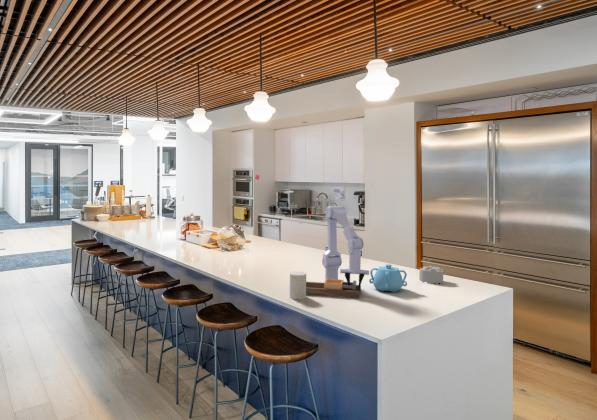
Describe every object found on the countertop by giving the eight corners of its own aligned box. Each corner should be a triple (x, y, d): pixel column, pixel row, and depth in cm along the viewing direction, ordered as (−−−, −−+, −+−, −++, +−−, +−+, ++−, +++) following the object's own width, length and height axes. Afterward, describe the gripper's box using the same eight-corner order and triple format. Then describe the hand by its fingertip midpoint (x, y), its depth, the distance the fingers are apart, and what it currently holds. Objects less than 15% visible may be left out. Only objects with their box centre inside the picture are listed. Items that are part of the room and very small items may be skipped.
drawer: (326, 287, 224) (326, 278, 224) (356, 290, 221) (356, 280, 221) (323, 292, 215) (324, 282, 215) (354, 294, 212) (355, 284, 212)
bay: (297, 287, 229) (297, 274, 229) (360, 291, 223) (361, 278, 222) (292, 293, 217) (292, 280, 216) (359, 298, 210) (359, 284, 209)
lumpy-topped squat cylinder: (443, 284, 239) (444, 269, 239) (419, 282, 242) (420, 268, 242) (441, 280, 249) (442, 265, 249) (419, 278, 253) (419, 264, 252)
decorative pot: (391, 284, 238) (392, 260, 237) (409, 292, 223) (410, 266, 222) (366, 287, 231) (367, 262, 230) (383, 295, 217) (384, 268, 216)
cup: (291, 300, 205) (292, 275, 204) (287, 295, 213) (288, 271, 212) (307, 298, 208) (308, 274, 207) (303, 294, 215) (303, 271, 214)
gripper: (339, 262, 213) (339, 288, 214) (369, 264, 210) (368, 290, 211) (341, 259, 220) (340, 285, 221) (369, 261, 217) (368, 287, 218)
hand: (354, 287), depth 216 cm, fingers open, 4 cm apart
